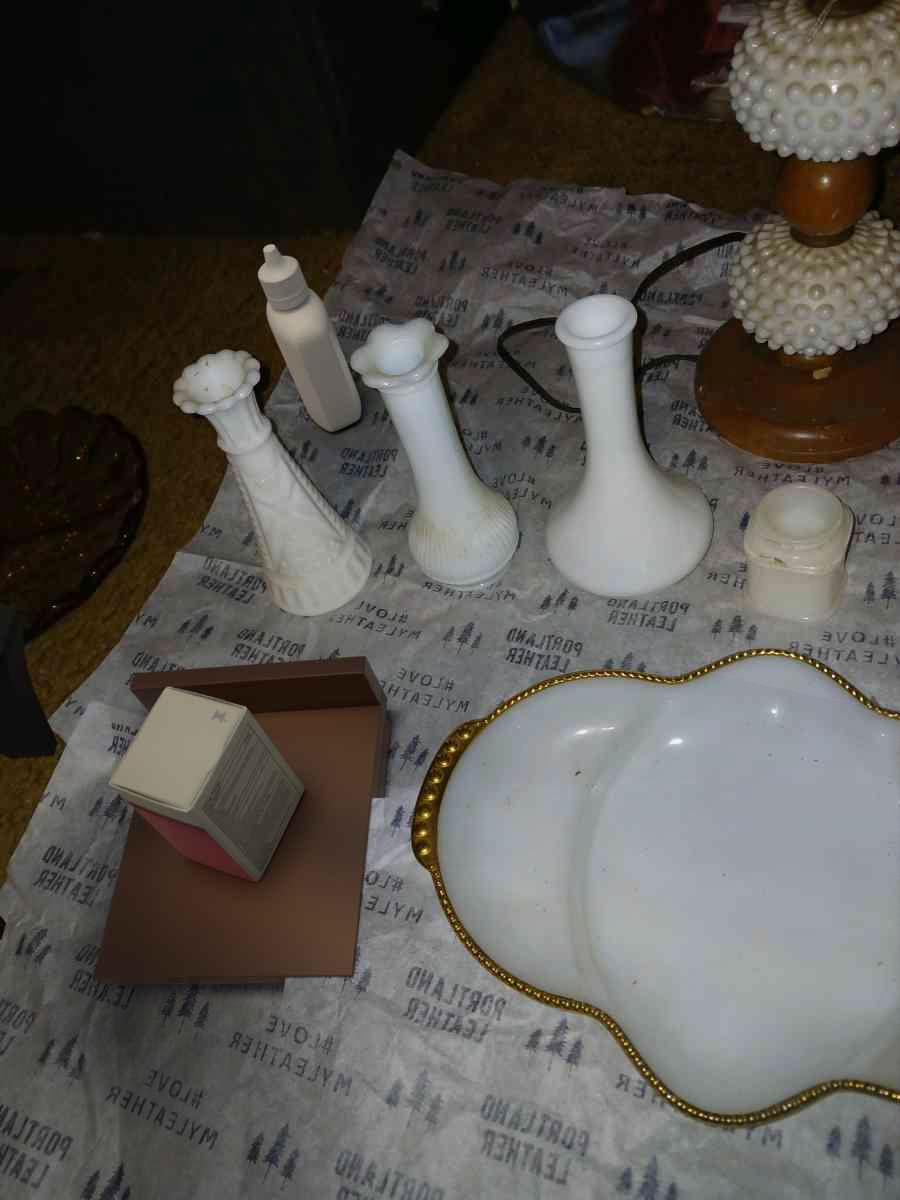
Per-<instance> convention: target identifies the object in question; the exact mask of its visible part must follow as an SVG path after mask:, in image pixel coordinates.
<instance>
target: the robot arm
mask: <svg viewBox="0 0 900 1200" xmlns="http://www.w3.org/2000/svg"><path fill="white" fill-rule="evenodd" d="M24 640H25V639H24V619H22V618H21V616H20V615H19V614H18V613H17V612H16V611H15V610H14V609H13V608H12V607H11V606H10V605H8V604H7V603H3V602H0V754H1V755H3V757H6V758H8V759H10V760H16V759H17V760H19V759H30V758H42V757H54V756H55V754H56V751H57V747H58V744H59V742H58V740H57V738H56V735H55V733H54V731H53V729H52V726H51V725H50V724H51V723H50V722H49V720H48V718H47V716H46V714H45V711H44V710H43V707H42V705H41V703H40V700H39V697H38V695H37V693H36V691H35V687H34V685H33V682H32V679H31V675H30V671H29V667H28V662H27V657H26V650H25V641H24ZM6 926H7V922H6V921H5V920H4V918H3V917H2V916H1V915H0V941H1V940H3V937H4V933H5V930H6Z"/></svg>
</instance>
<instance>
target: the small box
mask: <svg viewBox="0 0 900 1200" xmlns="http://www.w3.org/2000/svg"><path fill="white" fill-rule="evenodd" d="M108 786H109V787H110V788H111V789H112V790H113V791H114V792H115V793H117V794H118V795H119V796H120V797H121V798H122V799H123V800H125V802H127V803H128V805H130V806H131V807H132V808H133V810H134V809H135V810H136V811H137V812H139V813H140V814H141V815H142V816H143V817H144V818H145V819H146V820H147V821H148V822H149V823H150V824H151V825H152V826H153V827H154V828H155V829H156V830H157V831H158V832H159V833H161V834H162V835H163V836H164V837H165V838H166V839H167V840H168V841H169V842H170V843H171V844H172V845H173V846H174V847H175V848H176V849H177V850H178V851H179V852H180V853H182V854H183V855H184V856H185V857H186V858H189V859H191V860H194V861H196V862H199V863H201V864H204V865H206V866H209V867H212V868H214V869H217V870H220V871H223V872H225V873H228V874H231V875H234V876H237V877H240V878H243V879H246V880H249V881H252V882H257V881H259V880H260V879H261V877H262V875H263V873H264V871H265V869H266V867H267V865H268V863H269V862H270V860H271V858H272V855H273V853H274V852H275V850H276V848H277V846H278V843H279V841H280V839H281V838H282V835H283V833H284V831H285V829H286V827H287V825H288V823H289V821H290V819H291V817H292V815H293V813H294V811H295V809H296V806H297V804H298V802H299V800H300V798H301V796H302V794H303V792H304V789H305V788H304V786H303V784H302V783H301V781H300V780H299V779H298V777H297V776H296V775H295V773H294V772H293V770H292V769H291V768H290V766H289V765H288V763H287V762H286V761H285V759H284V758H283V756H282V755H281V754H280V752H279V751H278V750H277V748H276V747H275V745H274V744H273V743H272V741H271V740H270V739H269V737H268V736H267V735H266V733H265V732H264V730H263V729H262V728H261V726H260V725H259V724H258V722H257V721H256V720H255V718H254V717H253V715H252V714H251V713H250V711H249V710H248V709H247V708H246V707H245V706H241V705H237V704H234V703H231V702H227V701H223V700H220V699H217V698H213V697H209V696H205V695H201V694H198V693H193V692H189V691H185V690H181V689H176V688H172V687H167V688H165V689H164V691H163V692H162V694H161V695H160V697H159V699H158V700H157V702H156V703H155V705H154V707H153V708H152V710H151V711H150V713H149V712H148V715H147V716H146V718H145V719H144V721H143V723H142V724H141V726H140V728H139V730H138V731H137V733H136V734H135V736H134V737H133V739H132V741H131V742H130V745H128V747H127V750H126V751H125V753H124V755H123V756H122V759H121V760H120V761H119V764H118V765H117V767H116V769H115V770H114V772H113V774H112V776H111V777H110V778H109V781H108Z"/></svg>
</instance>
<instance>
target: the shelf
mask: <svg viewBox="0 0 900 1200" xmlns="http://www.w3.org/2000/svg"><path fill="white" fill-rule="evenodd" d="M167 687H172V688H176V689H181V690H185V691H189V692H193V693H198V694H201V695H205V696H209V697H213V698H217V699H220V700H223V701H227V702H231V703H234V704H237V705H241V706H245V707H246V708H247V709H248V710H249V711H250V713H251V714H252V715H253V717H254V718H255V720H256V721H257V722H258V724H259V725H260V726H261V728H262V729H263V730H264V732H265V733H266V735H267V736H268V737H269V739H270V740H271V741H272V743H273V744H274V745H275V747H276V748H277V750H278V751H279V752H280V754H281V755H282V756H283V758H284V759H285V761H286V762H287V763H288V765H289V766H290V768H291V769H292V770H293V772H294V773H295V775H296V776H297V777H298V779H299V780H300V781H301V783H302V784H303V786H304V788H305V789H304V792H303V794H302V796H301V798H300V800H299V802H298V804H297V806H296V809H295V811H294V813H293V815H292V817H291V819H290V821H289V823H288V825H287V827H286V829H285V831H284V833H283V835H282V838H281V839H280V841H279V843H278V846H277V848H276V850H275V852H274V853H273V855H272V858H271V860H270V862H269V863H268V865H267V867H266V869H265V871H264V873H263V875H262V877H261V879H260V880H259V881H257V882H252V881H249V880H246V879H243V878H240V877H237V876H234V875H231V874H228V873H225V872H223V871H220V870H217V869H214V868H212V867H209V866H206V865H204V864H201V863H199V862H196V861H194V860H191V859H189V858H186V857H185V856H184V855H183V854H182V853H180V852H179V851H178V850H177V849H176V848H175V847H174V846H173V845H172V844H171V843H170V842H169V841H168V840H167V839H166V838H165V837H164V836H163V835H162V834H161V833H159V832H158V831H157V830H156V829H155V828H154V827H153V826H152V825H151V824H150V823H149V822H148V821H147V820H146V819H145V818H144V817H143V816H142V815H141V814H140V813H139V812H137V811H136V810H135V809H134V808H133V811H132V814H131V818H130V819H131V820H130V823H129V827H128V831H127V835H126V839H125V843H124V846H123V847H124V848H123V852H122V856H121V860H120V863H119V868H118V872H117V876H116V880H115V883H114V889H113V892H112V896H111V899H110V900H111V901H110V903H109V908H108V912H107V916H106V921H105V924H104V929H103V933H102V938H101V941H100V945H99V949H98V953H97V958H96V960H95V961H96V962H95V964H94V965H95V966H94V969H93V974H92V979H93V980H94V981H96V982H97V983H99V984H100V985H102V986H122V985H123V986H124V985H125V986H126V985H127V986H128V985H131V986H132V985H133V986H134V985H138V986H139V985H140V986H141V985H218V984H219V985H223V984H227V985H229V984H231V985H232V984H234V985H235V984H236V985H237V984H285V983H286V979H290V978H291V979H293V978H295V979H296V978H297V979H298V978H299V979H302V978H353V977H354V976H355V967H356V958H357V957H356V956H357V948H358V940H359V939H358V938H359V928H360V921H361V912H362V911H361V909H362V901H363V893H364V892H363V891H364V881H365V872H366V862H367V852H368V845H369V844H368V843H369V833H370V823H371V813H372V804H373V799H384V798H385V791H386V790H385V789H386V779H387V770H388V759H389V750H390V739H391V729H392V725H391V723H390V721H389V719H388V717H387V709H388V697H387V695H386V693H385V691H384V688H382V685H381V683H380V681H379V679H378V677H377V676H376V673H375V672H374V670H373V668H372V666H371V664H370V662H369V660H368V658H367V656H366V655H359V656H356V655H355V656H346V657H344V656H343V657H330V658H319V659H318V658H317V659H306V660H292V661H290V660H289V661H281V662H280V661H278V662H267V663H266V662H265V663H252V664H250V663H249V664H240V665H239V664H238V665H227V666H212V667H199V668H186V669H172V670H171V669H170V670H159V671H147V672H134V673H133V675H132V678H131V683H130V686H129V691H130V692H131V693H132V694H133V696H134V697H135V698H136V699H137V701H139V702H140V704H141V705H142V706H143V707H144V708H145V709H146V711H147V712H148V714H149V713H150V711H151V710H152V708H153V707H154V705H155V703H156V702H157V700H158V699H159V697H160V695H161V694H162V692H163V691H164V689H165V688H167Z"/></svg>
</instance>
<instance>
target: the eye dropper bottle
mask: <svg viewBox="0 0 900 1200" xmlns="http://www.w3.org/2000/svg"><path fill="white" fill-rule="evenodd" d="M262 250H263V255H264V260H265V262H264V263H263V264H262V265H261V266H260V268H259V269H258V272H257V277H258V281H259V283H260V285H261V287H262V290H263V292H264V294H265V297H266V300H267V302H266V318H267V322H268V325H269V327H270V330H271V332H272V334H273V336H274V340H275V341H276V344H277V346H278V348H279V350H280V353H281V355H282V358H283V360H284V362H285V364H286V366H287V368H288V370H289V373H290V376H291V377H292V380H293V382H294V384H295V386H296V389H297V391H298V393H299V396H300V398H301V400H302V402H303V404H304V406H305V407H304V408H305V409H306V411H307V413H308V414H309V416H310V418H311V419H312V421H314V422H315V423H316V424H317V425H318V426H319V427H321V428H322V429H324V430H325V431H327V432H332V433H333V432H336V431H339V430H341V429H343V428H344V429H345V428H346V427H348V426H350V425H352V424H354V423H356V422H358V421H359V420H360V418H361V416H362V401H361V398H360V394H359V391H358V389H357V387H356V384H355V381H354V379H353V376H352V373H351V371H350V368H349V366H348V363H347V360H346V358H345V355H344V353H343V350H342V347H341V345H340V342H339V340H338V336H337V334H336V332H335V329H334V327H333V323H332V321H331V318H330V316H329V314H328V311H327V308H326V306H325V304H324V303H323V301H322V300H321V298H320V296H319V295H318V294H317V293H316V292H315V291H314V290H312V289H311V288H310V287H309V286H308V284H307V281H306V279H305V276H304V275H303V271H302V268H301V266H300V264H299V262H298V260H297V259H296V258H295V257H293V256H290V255H282V254H281V252H280V251H279V250H278V248H277V246H276V245H275V244H272V243H271V244H267V245H265V246H264V247H263V249H262Z"/></svg>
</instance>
